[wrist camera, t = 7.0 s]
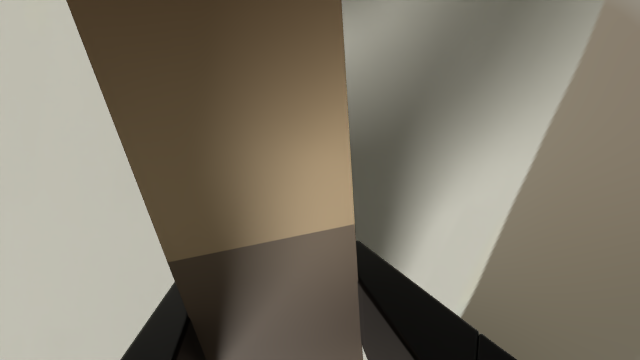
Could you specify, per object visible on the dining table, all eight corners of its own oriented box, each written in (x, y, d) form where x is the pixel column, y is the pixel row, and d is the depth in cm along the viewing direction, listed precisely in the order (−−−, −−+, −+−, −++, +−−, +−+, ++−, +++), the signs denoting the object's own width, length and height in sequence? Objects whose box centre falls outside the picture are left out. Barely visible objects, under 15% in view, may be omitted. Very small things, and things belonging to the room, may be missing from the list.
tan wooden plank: (336, 321, 12) (366, 420, 10) (237, 345, 12) (241, 454, 10) (257, -436, 5) (294, -798, 3) (-6, -437, 5) (-266, -862, 2)
